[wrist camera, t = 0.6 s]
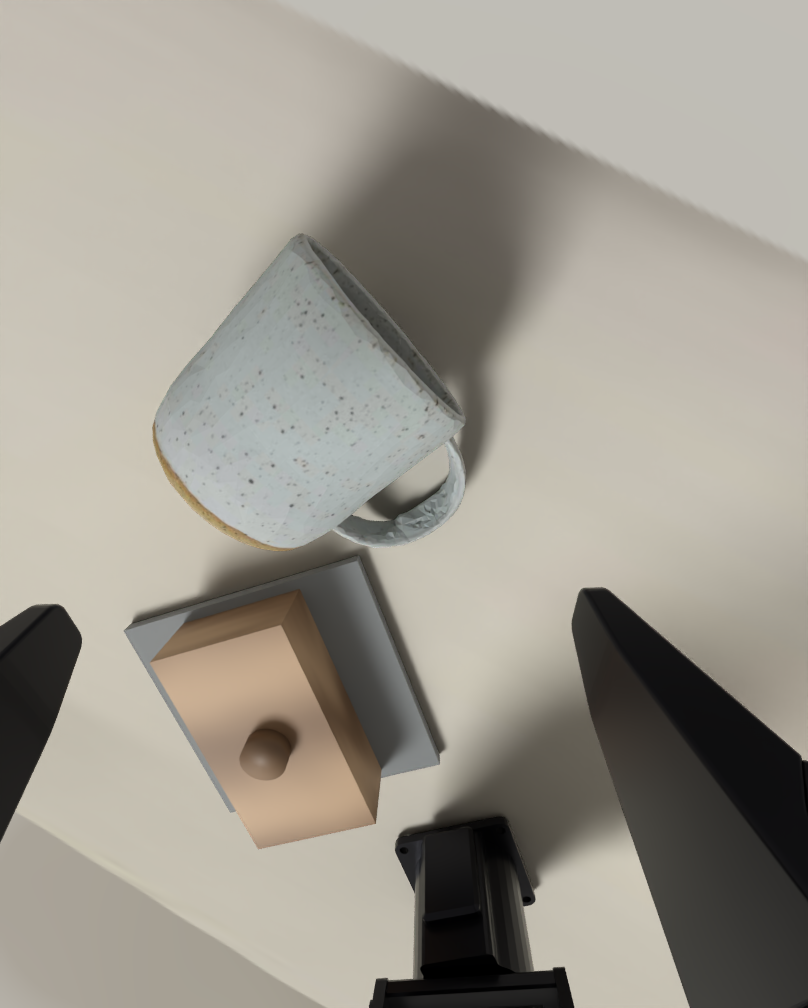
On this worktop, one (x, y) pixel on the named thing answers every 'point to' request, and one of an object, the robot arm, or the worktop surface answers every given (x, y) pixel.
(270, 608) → the lid
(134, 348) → the worktop surface
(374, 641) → the mat
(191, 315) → the worktop surface
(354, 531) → the ceramic mug
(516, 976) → the robot arm
